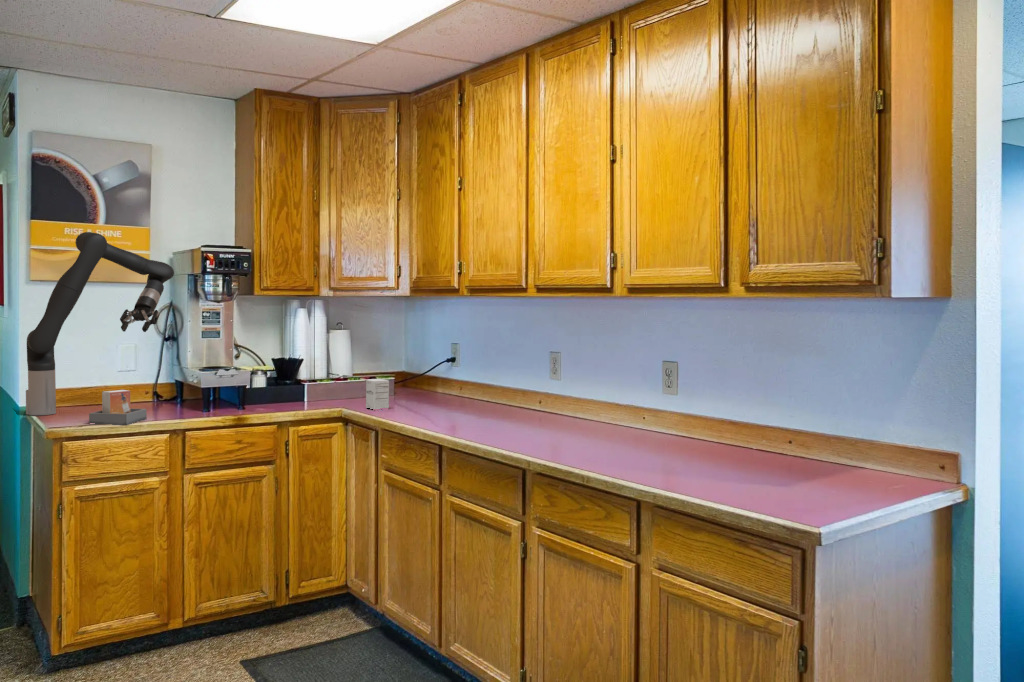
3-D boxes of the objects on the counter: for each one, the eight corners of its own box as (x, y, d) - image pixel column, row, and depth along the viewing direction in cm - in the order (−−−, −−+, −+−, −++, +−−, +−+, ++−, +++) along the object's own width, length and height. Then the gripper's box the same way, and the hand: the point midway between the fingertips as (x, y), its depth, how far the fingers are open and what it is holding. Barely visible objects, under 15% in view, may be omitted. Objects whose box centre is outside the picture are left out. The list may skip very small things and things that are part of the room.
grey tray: (89, 424, 291) (89, 413, 291) (110, 418, 305) (110, 407, 305) (126, 425, 291) (126, 414, 290) (146, 419, 304) (146, 408, 304)
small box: (109, 421, 293) (109, 392, 292) (101, 419, 296) (101, 391, 296) (131, 418, 299) (130, 390, 299) (123, 417, 303) (122, 389, 302)
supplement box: (365, 408, 341) (365, 379, 340) (381, 407, 346) (381, 378, 345) (373, 411, 335) (373, 380, 335) (389, 409, 340) (389, 380, 339)
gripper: (127, 294, 331) (112, 323, 320) (161, 295, 330) (147, 324, 319) (134, 307, 336) (119, 336, 325) (167, 308, 335) (154, 337, 324)
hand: (133, 330), depth 322 cm, fingers open, 8 cm apart
